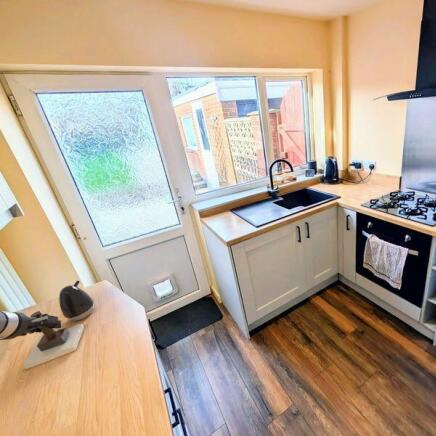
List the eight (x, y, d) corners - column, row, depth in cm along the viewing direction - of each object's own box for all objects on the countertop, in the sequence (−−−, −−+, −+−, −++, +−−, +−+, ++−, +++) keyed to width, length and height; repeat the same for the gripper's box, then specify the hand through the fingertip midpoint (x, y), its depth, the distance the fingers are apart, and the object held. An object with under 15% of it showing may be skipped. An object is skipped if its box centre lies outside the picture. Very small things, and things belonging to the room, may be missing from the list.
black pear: (103, 305, 109) (88, 278, 103) (83, 324, 100) (65, 296, 93) (83, 305, 111) (67, 278, 104) (62, 324, 101) (42, 296, 95)
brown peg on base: (41, 351, 87) (18, 323, 81) (47, 341, 91) (26, 313, 85) (65, 343, 89) (44, 314, 83) (69, 333, 93) (50, 305, 88)
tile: (26, 369, 84) (22, 365, 83) (40, 342, 94) (37, 339, 93) (75, 350, 89) (73, 346, 88) (84, 326, 99) (82, 323, 98)
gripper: (-34, 351, 67) (28, 346, 88) (38, 327, 73) (80, 327, 94) (-34, 324, 69) (27, 325, 90) (36, 302, 75) (78, 308, 96)
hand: (54, 326), depth 92 cm, fingers closed on brown peg on base, 3 cm apart
